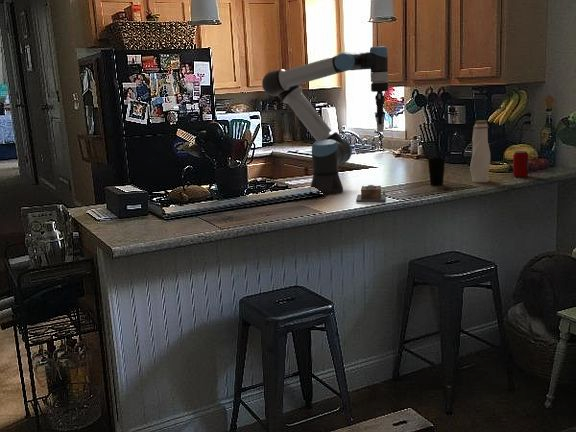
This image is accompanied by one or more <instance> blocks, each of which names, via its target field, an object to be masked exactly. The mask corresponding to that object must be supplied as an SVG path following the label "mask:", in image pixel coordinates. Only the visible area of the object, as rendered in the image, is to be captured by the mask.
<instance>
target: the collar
mask: <svg viewBox="0 0 576 432" xmlns="http://www.w3.org/2000/svg"><path fill="white" fill-rule="evenodd" d="M381 194H382V185H374V188H372V189H368V185H362V186H361V188H360V195H361V199H381Z"/></svg>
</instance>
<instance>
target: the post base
mask: <svg viewBox="0 0 576 432" xmlns="http://www.w3.org/2000/svg"><path fill="white" fill-rule="evenodd" d="M367 186H368V189H372V188H374V186H375V185H374V184H368V185H367ZM386 198H387V196H386V190H382V193H381V199H361V194H357V195H356V199H355V203H356V202H379V203H386V200H387V199H386Z"/></svg>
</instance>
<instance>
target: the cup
mask: <svg viewBox="0 0 576 432" xmlns="http://www.w3.org/2000/svg"><path fill="white" fill-rule="evenodd" d="M427 161H428V163H427V164H428V171H429V181H430V182H429V183H430V186H434V187H435V186H436V187H437V186H439V187H441V186H443V185H444V177H445V176H444V175H445V164H446V158H444V157H430V158H428V159H427Z"/></svg>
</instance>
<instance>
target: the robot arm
mask: <svg viewBox="0 0 576 432" xmlns="http://www.w3.org/2000/svg"><path fill="white" fill-rule="evenodd" d="M388 59H389V56H388V47H386V46H385V45H383V46H371V47H370V49H369V51H366V52H365V51H364V52H346V51H345V52H340V53H338V54H336V55H334V56H330V57H326V58H323V59H320V60H317V61H313V62H309V63H307V64H304V65H301V66H297V67H293V68H290V69H287V70H286V69H283V68H282V69H278V70H271V71H269V72H267V73H266V74H265V75H264V76H263V78H262V81H261V85H262V89H263V91H264V92H265V93H266V94H267V95H268V96H271V97H278V98H279V99H280V101H281V102H282V103H283V104H286V105H288V106H289V108H290V109H291V110H292V111H293V113H295V115H296V117H297V118H298V119H299V121H301V123H302V124H303V125H304V127H305V128H306V129H307V130H308V132H309V133H310V135H311V136H312V137H313V138H314V140H315V142H314V143H312V145H311V162H312V178H311V183H310V186H309V188H310V187H315V188H317V189H318V190H319V191H321V192H322V193H323V194H326V195H325V196H329V195H328V194H334V195H339V194H341V193H344V187H343V183H342V181H341V178H340V175H339V166H341V165H344V164H346V163H347V162H349V160H350V159H351V156H352V154H353V148H352V145H351V143H350V142H349V141H348V140H346V139H344V138H342V137H341V136H340V134H339V133H338V132H336V131H332V130H331V128H330V127H329V125H328V124H327V123H326V121H325V120H324V119H323V118H322V116H321V115H320V114H319V113H318V111H317V110H316V109H315V108H314V106H313V104H312V103H311V102H310V101H309V99H307V97H306V96H305V95H304V93H303V87H302V84H306V83H309V82H312V81H316V80H320V79H324V78H326V77H330V76H334V75H336V74H341V73H343V72H348V71H360V70H361V71H362V70H370V82H371V84H370V91H371V92H372V93H373V92H374V93H375V92H376V95H375V97H374V99H375V105H376V114H375V118H376V132H377V133H383V132H384V130H385V129H384V128H385V124H384V121H385V117H384V115H386V112H385V111H384V103H385V95H384V92H388V91H389V83H388V81H389V79H388V78H389V77H390V74H389V73H388V71H389V69H388V68H389V67H388V65H389V63H388V62H389V61H388ZM338 193H339V194H338Z"/></svg>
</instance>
